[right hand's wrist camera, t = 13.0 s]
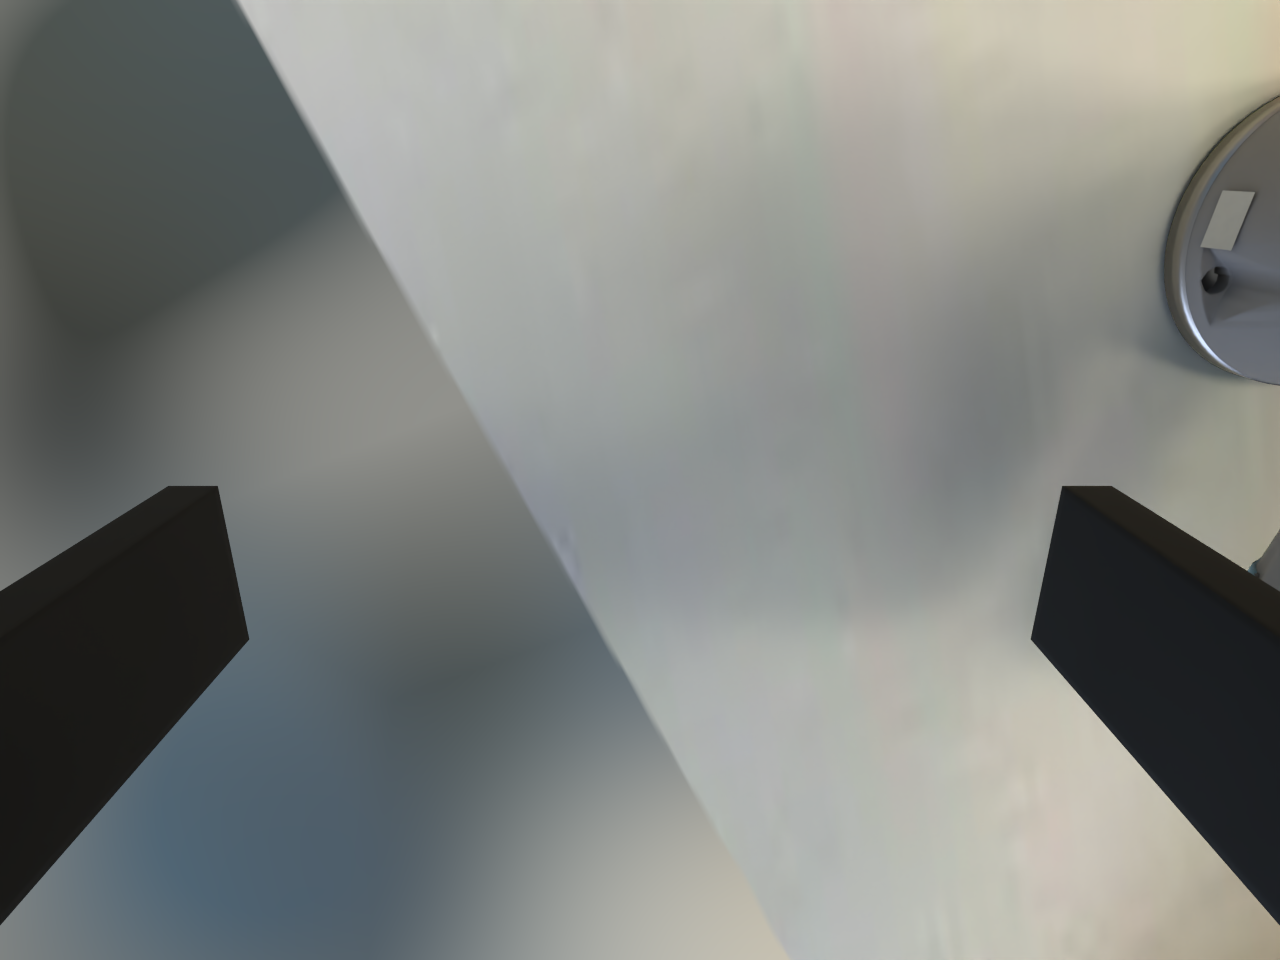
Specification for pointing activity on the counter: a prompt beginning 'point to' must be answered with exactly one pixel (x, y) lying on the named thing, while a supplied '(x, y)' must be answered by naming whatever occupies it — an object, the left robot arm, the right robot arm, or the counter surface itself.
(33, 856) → the right robot arm
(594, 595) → the counter surface
